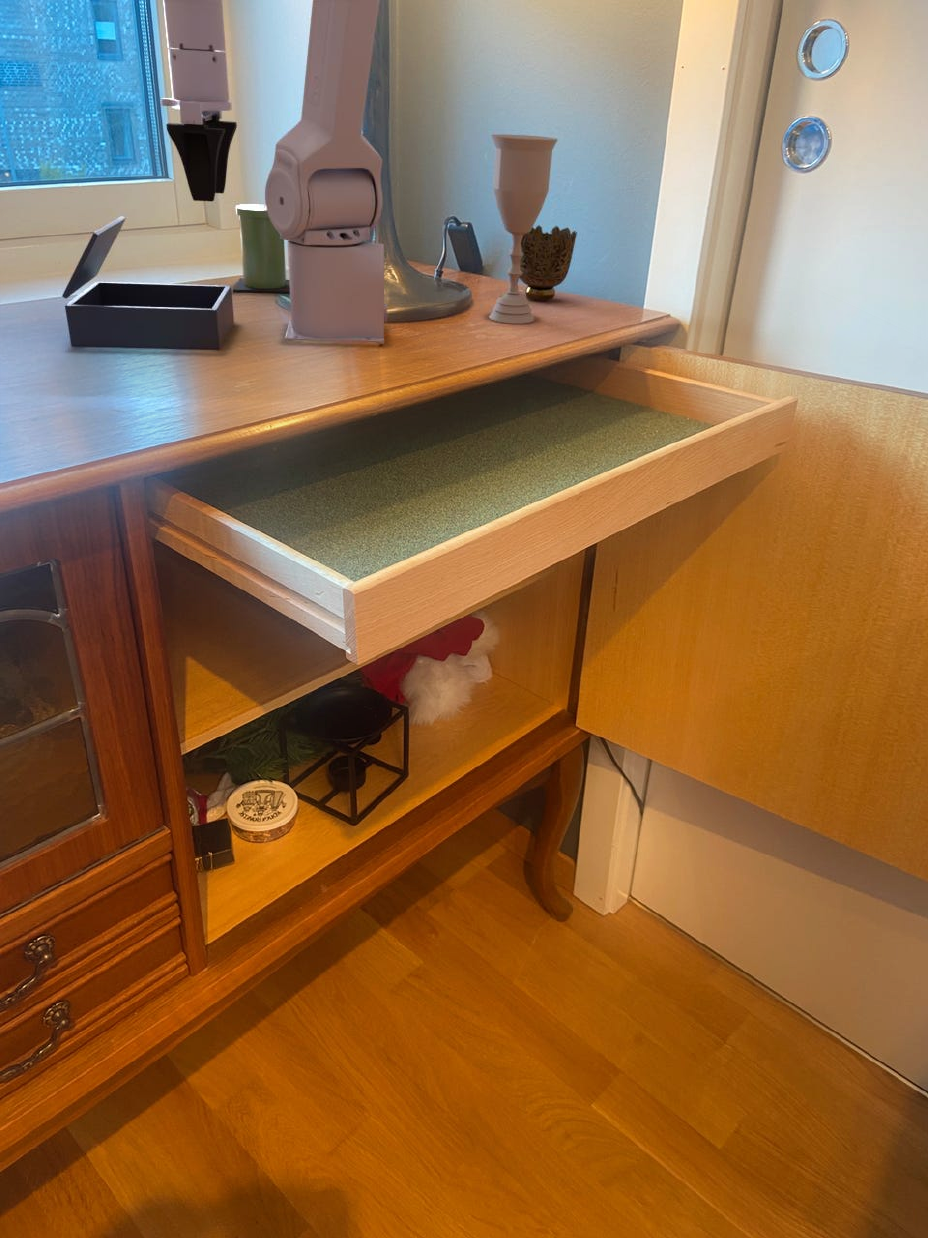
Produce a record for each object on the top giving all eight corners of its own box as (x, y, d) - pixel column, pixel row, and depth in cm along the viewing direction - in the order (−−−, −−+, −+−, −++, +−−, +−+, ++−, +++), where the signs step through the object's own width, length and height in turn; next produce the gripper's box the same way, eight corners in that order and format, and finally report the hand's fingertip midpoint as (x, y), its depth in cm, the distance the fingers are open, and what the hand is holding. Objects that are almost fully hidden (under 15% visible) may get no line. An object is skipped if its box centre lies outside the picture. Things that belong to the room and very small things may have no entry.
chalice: (543, 327, 100) (560, 140, 91) (481, 324, 100) (491, 137, 91) (539, 312, 106) (555, 136, 97) (481, 309, 106) (490, 133, 97)
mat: (297, 284, 114) (297, 279, 114) (294, 295, 108) (293, 291, 108) (239, 282, 113) (239, 277, 113) (233, 293, 107) (232, 289, 107)
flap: (66, 298, 81) (61, 296, 80) (96, 275, 90) (92, 273, 90) (98, 235, 78) (93, 232, 78) (126, 217, 88) (122, 215, 88)
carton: (72, 351, 83) (64, 305, 81) (101, 323, 92) (95, 281, 90) (220, 355, 84) (216, 309, 82) (234, 326, 94) (231, 285, 92)
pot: (290, 280, 113) (287, 205, 109) (287, 289, 108) (283, 211, 104) (243, 279, 112) (238, 203, 108) (238, 288, 108) (232, 209, 103)
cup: (505, 302, 110) (510, 230, 106) (512, 290, 117) (517, 222, 113) (567, 307, 110) (575, 235, 106) (571, 295, 116) (578, 227, 112)
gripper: (170, 49, 100) (183, 187, 107) (141, 46, 87) (158, 202, 94) (236, 53, 101) (245, 190, 107) (217, 50, 88) (228, 205, 95)
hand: (209, 196), depth 101 cm, fingers open, 7 cm apart
